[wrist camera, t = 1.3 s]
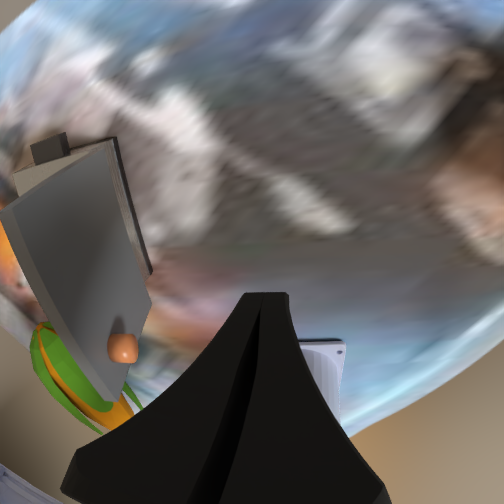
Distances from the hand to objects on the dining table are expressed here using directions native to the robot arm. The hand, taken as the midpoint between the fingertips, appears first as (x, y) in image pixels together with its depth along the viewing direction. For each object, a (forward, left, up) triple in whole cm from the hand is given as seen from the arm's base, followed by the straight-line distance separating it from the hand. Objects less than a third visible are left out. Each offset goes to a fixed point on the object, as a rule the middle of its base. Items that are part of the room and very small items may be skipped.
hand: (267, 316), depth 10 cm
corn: (-19, +21, -10) cm, 30 cm away
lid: (0, +9, -3) cm, 10 cm away
